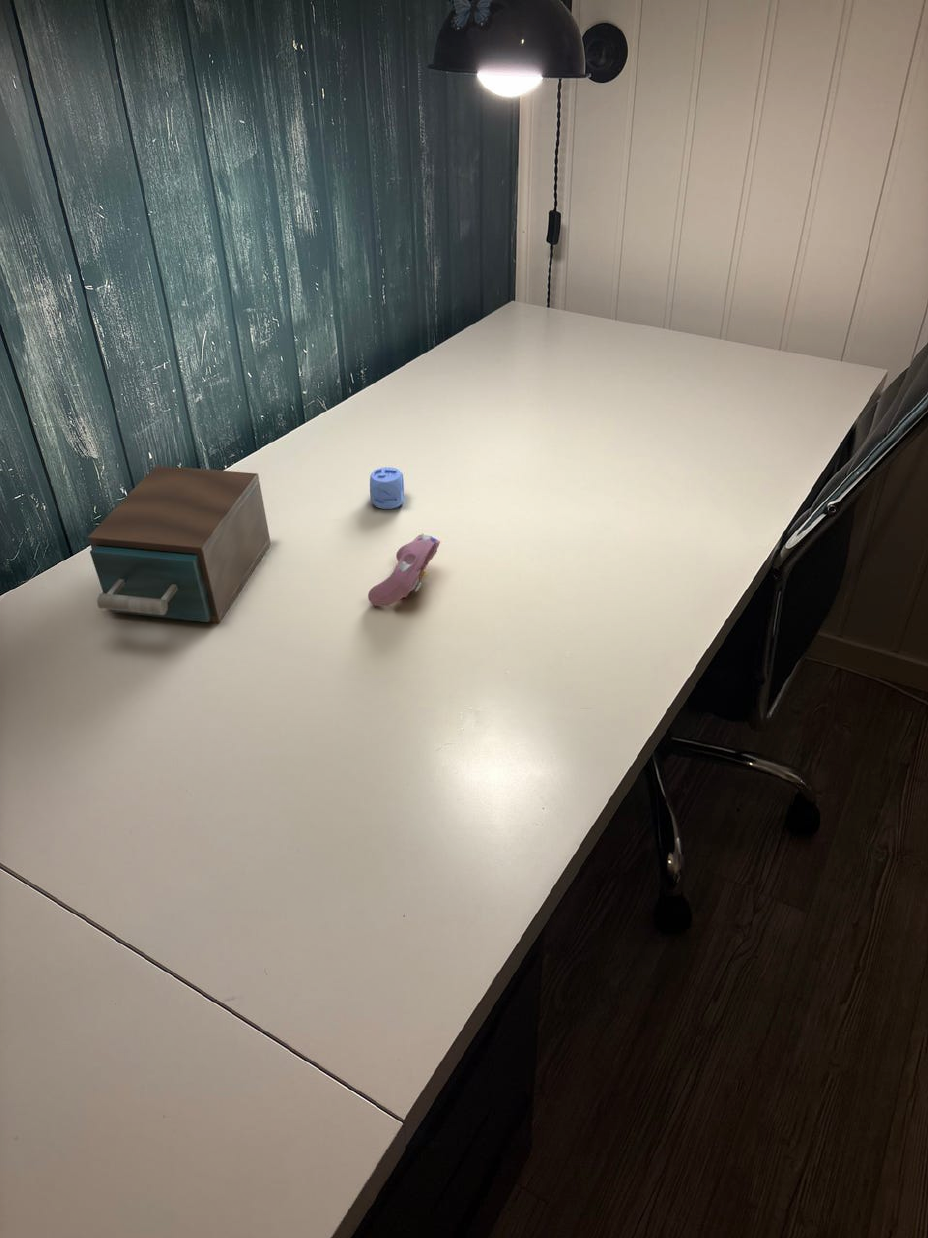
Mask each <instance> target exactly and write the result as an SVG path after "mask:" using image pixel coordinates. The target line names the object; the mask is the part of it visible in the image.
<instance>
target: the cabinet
mask: <svg viewBox="0 0 928 1238" xmlns="http://www.w3.org/2000/svg"><path fill="white" fill-rule="evenodd" d="M262 493H263V492H262V488H261V483H260V477H259V473H257V472H244V471H231V470H218V469H208V468H207V469H205V468H193V467H181V466H169V465H168V466H167V465H155V466H153V468H152V469H150V471H149V472H148V473H147V474H146V475H145V476H144V477H143V478H142V479H141V481H139V483H138V484H137V485H136V486H134V488H133V489H132V490H130V492H129V493H128V494H127V495H126V496H125V497H124V499H122V500H121V502H120V503H118V505H117V506H116V507H115V508H114V509H113V510H112V511H111V512H110V513H109V514H108V515H107V516H106V517H105V518H104V519H103V520H102V521H101V522H100V523H99V525H98V526H97V527H95V529H94V530H93V531H92V532H91V533H90V534H88V536H87V540H88V544H89V545H90V549H91V550H92V549H93V548H94V546H105V547H111V546H115V547H125V548H136V549H146V550H157V551H167V552H178V553H188V554H196V555H198V558H199V562H200V566H201V570H202V575H203V579H204V583H205V587H206V591H207V595H208V599H209V604H210V608H211V612H212V617H211V619H210V620H209V622H208V623H216V624H217V623H218V624H220V623H221V621H222V620H223V618H224V617H225V615H226V614H227V612H228V611H229V609H230V608H231V606H232V604H233V603H234V602H235V600H236V599H237V597H238V596H239V594H240V592H241V591H242V589H243V588H244V586H245V585H246V584H247V582H248V581H249V578H250V577H251V576H252V574H253V573H254V571H255V570H256V568H257V566H258V565H259V563H260V562H261V561H262V559H263V557H264V556H265V554H266V552H267V551H268V550H269V548H270V547H271V545H272V543H271V537H270V533H269V526H268V519H267V516H266V510H265V505H264V499H263V494H262Z"/></svg>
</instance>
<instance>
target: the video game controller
mask: <svg viewBox="0 0 928 1238" xmlns="http://www.w3.org/2000/svg"><path fill="white" fill-rule="evenodd" d="M440 544H441V540H439V539H437V538H435V537H433V536H431V535H426V534H425V533H424V532H423V533H421V534H419V535H417V536H416V537H415V538H414V539H413V540H412V541H410V542H408V543H406V544H404V545H403V546H401V547H400V548H399V549H398V550H397V552H396V557H395V558H396V560H397V561H398V562H397V564H396V565H395V567H394V569H393V571H392V572H391V574H390V575H389V576H388V577H387V578H385V579H384V580H383V581H381V582H380V583H378V584H376V585H374V586H373V587H372V588H371V589H369V591H368V595H367V597H368V598H367V599H368V600H369V603H371V604H372V605H373V606H378V607H384V606H390V605H393V604H394V603H397V602H399V601H400V600H401V599H405V598H407V597H408V596H409V594H410V593H411V592H412V591H413V590H414V592H418V591H419V590H420V588H421V587H422V581H419V579H420V578H421V579H423V578H424V577H425V576H426V571H425V569H426V568H427V566H428V564H429V563H430V561H433V559H434V557H435V556H436V553H437V552H438V548H439V545H440Z"/></svg>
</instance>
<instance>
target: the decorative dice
mask: <svg viewBox="0 0 928 1238" xmlns="http://www.w3.org/2000/svg"><path fill="white" fill-rule="evenodd" d="M369 496H370V503H371V504H372V505H374V507H376V508H378V509H382V510H393V509H396V508H398V507H401V505H403V503H404V502H405V479H404V473H403V472H402V471H401V470H400V469H397V468H395V467H391V466H386V467H379V468H376V469H375V470H373V471H372V472H371V473H370V476H369Z"/></svg>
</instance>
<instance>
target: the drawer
mask: <svg viewBox="0 0 928 1238" xmlns="http://www.w3.org/2000/svg"><path fill="white" fill-rule="evenodd" d="M89 554H90V557H91V560H92V563H93V566H94V569H95V572H96V576H97V578H98V582H99V584H100V587H101V590H102V592H101V593H99V594H98V596H97V599H96V605H97V607H98V608H99V609H100V610H101V609H102V610H108V612H111V613H120V614H130V615H137V616H146V617H156V618H165V619H175V620H184V621H192V622H193V621H194V622H202V623H210V622H209V620H210V619H211V617H212V612H211V608H210V604H209V599H208V595H207V591H206V587H205V583H204V579H203V575H202V570H201V566H200V562H199V558H198V555H196V554H188V553H178V552H167V551H157V550H146V549H136V548H125V547H115V546H111V547H105V546H94V548H93V549H92V548H91V549H90V550H89Z"/></svg>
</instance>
